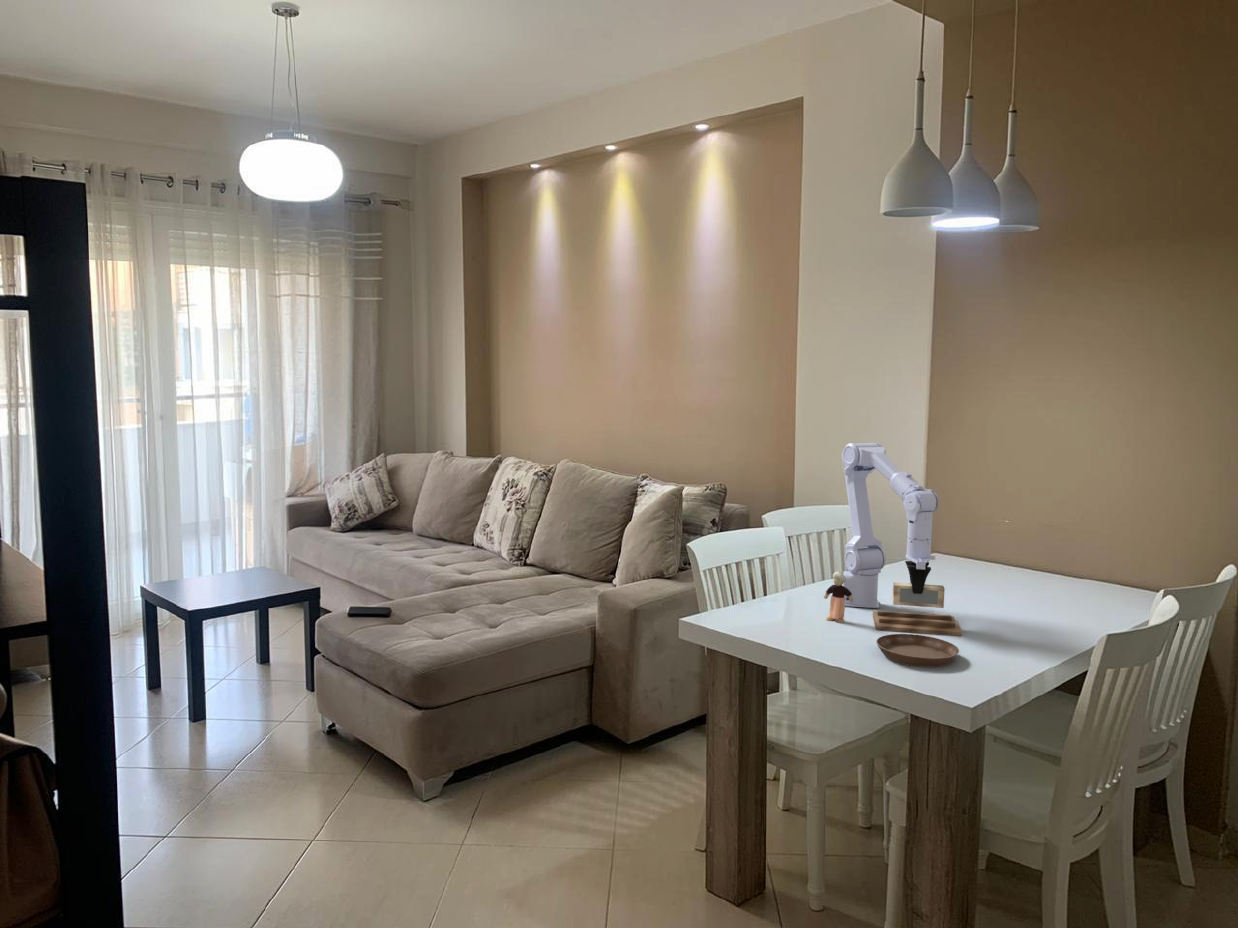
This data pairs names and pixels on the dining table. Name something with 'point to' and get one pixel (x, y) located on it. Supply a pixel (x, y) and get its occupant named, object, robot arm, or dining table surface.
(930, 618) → the picture ledge
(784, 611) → the dining table surface
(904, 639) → the plant saucer
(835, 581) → the grandmother figurine
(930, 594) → the beige long rectangular block
